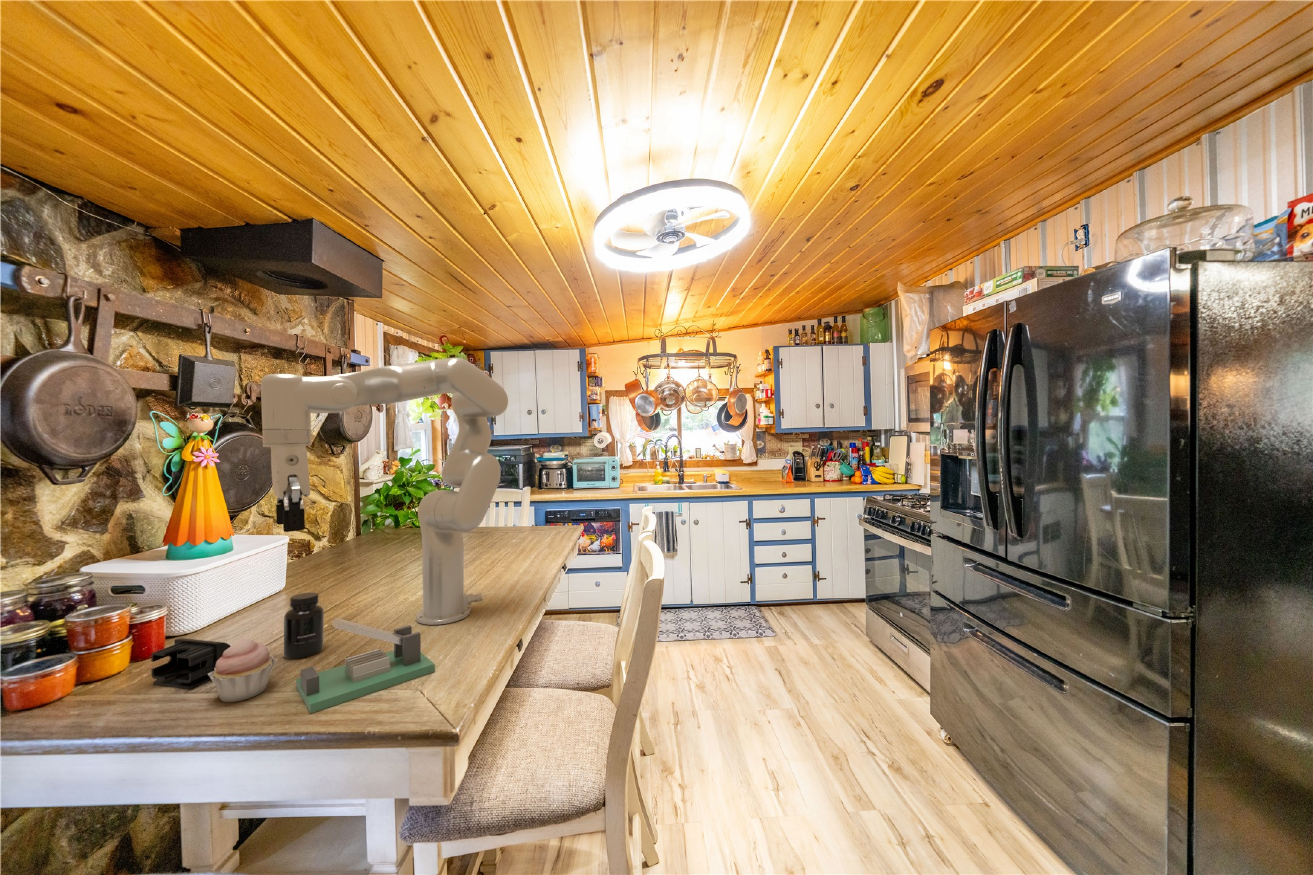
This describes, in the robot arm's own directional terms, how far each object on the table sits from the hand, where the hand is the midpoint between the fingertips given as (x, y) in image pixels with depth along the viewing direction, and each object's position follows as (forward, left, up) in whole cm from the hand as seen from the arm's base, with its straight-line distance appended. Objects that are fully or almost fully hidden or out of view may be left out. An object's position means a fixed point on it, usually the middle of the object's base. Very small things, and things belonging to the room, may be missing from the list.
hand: (290, 526), depth 96 cm
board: (-9, +14, -28) cm, 33 cm away
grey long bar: (-10, +14, -20) cm, 27 cm away
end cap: (+14, -10, -28) cm, 33 cm away
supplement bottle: (-3, -8, -28) cm, 29 cm away
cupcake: (+8, +4, -28) cm, 29 cm away
